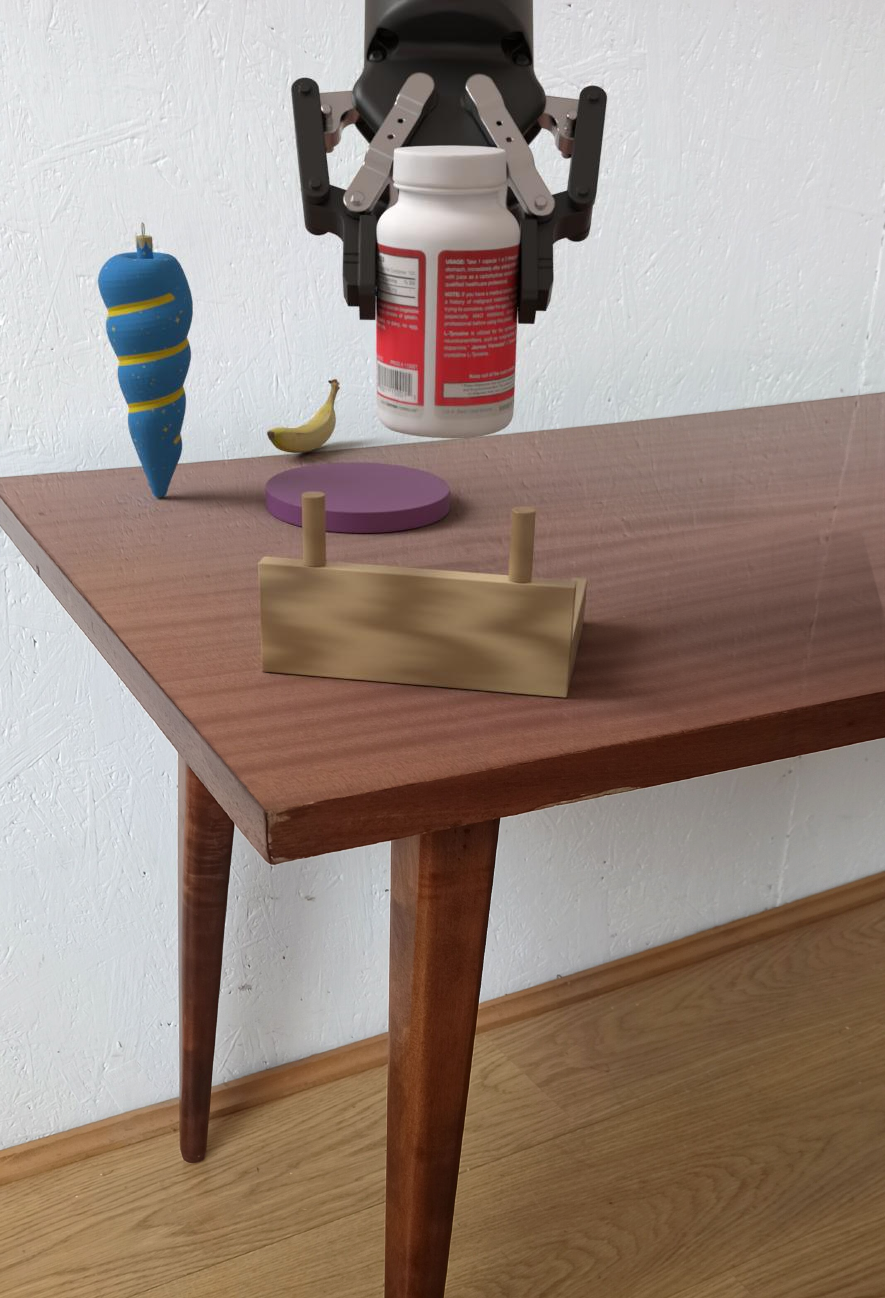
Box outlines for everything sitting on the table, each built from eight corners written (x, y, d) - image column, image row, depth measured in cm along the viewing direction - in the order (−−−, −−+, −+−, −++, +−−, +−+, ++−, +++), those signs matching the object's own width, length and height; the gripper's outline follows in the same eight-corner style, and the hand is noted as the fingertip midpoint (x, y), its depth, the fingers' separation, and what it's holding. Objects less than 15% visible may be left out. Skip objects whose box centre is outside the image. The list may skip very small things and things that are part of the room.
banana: (326, 436, 106) (325, 376, 104) (348, 440, 105) (347, 379, 103) (262, 462, 100) (260, 398, 97) (285, 465, 99) (283, 401, 97)
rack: (583, 621, 76) (597, 457, 71) (566, 698, 67) (580, 516, 63) (312, 599, 77) (309, 437, 73) (261, 671, 69) (255, 493, 65)
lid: (461, 488, 96) (462, 468, 95) (433, 539, 86) (434, 518, 86) (290, 476, 97) (290, 456, 96) (245, 525, 88) (244, 504, 87)
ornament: (110, 507, 90) (85, 227, 82) (123, 484, 94) (100, 216, 86) (198, 509, 90) (182, 230, 82) (207, 485, 94) (192, 218, 86)
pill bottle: (526, 415, 71) (539, 146, 65) (495, 447, 66) (506, 158, 60) (398, 405, 72) (399, 140, 66) (358, 434, 67) (355, 151, 61)
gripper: (282, -98, 65) (271, 247, 61) (620, -88, 65) (630, 255, 61) (293, 45, 72) (284, 361, 68) (597, 53, 72) (605, 367, 69)
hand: (448, 309), depth 65 cm, fingers closed on pill bottle, 6 cm apart
